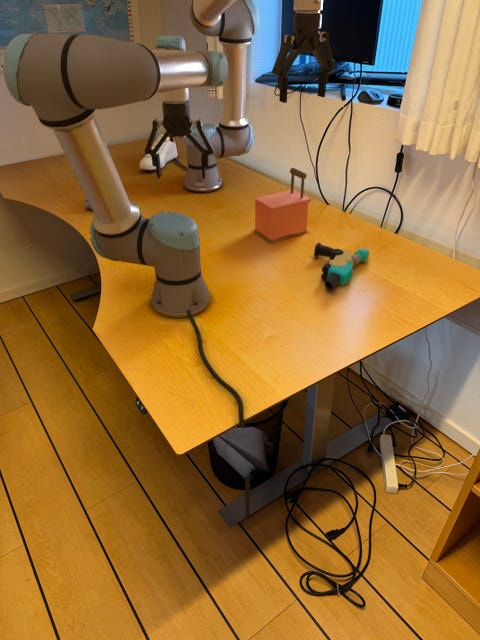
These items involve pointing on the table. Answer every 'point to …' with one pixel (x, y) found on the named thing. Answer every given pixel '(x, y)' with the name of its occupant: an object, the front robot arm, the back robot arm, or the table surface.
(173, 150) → the sneaker
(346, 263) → the toy gun
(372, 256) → the table surface
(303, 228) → the chest
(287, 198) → the lid
